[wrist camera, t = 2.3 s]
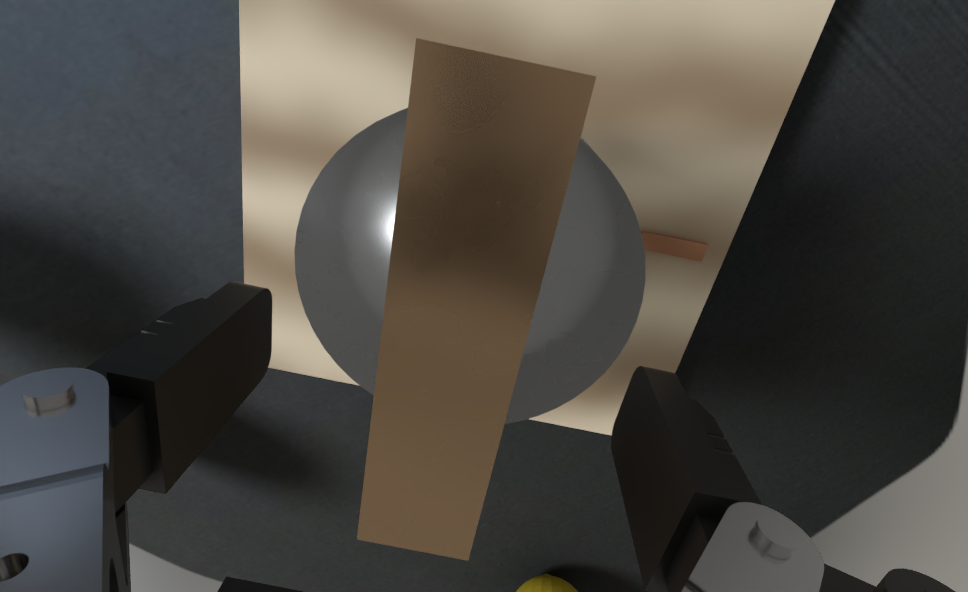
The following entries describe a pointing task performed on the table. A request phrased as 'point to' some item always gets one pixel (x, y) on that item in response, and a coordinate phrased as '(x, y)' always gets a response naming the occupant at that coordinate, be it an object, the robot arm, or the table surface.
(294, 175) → the mounting board
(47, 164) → the table surface
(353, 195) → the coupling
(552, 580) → the lemon
